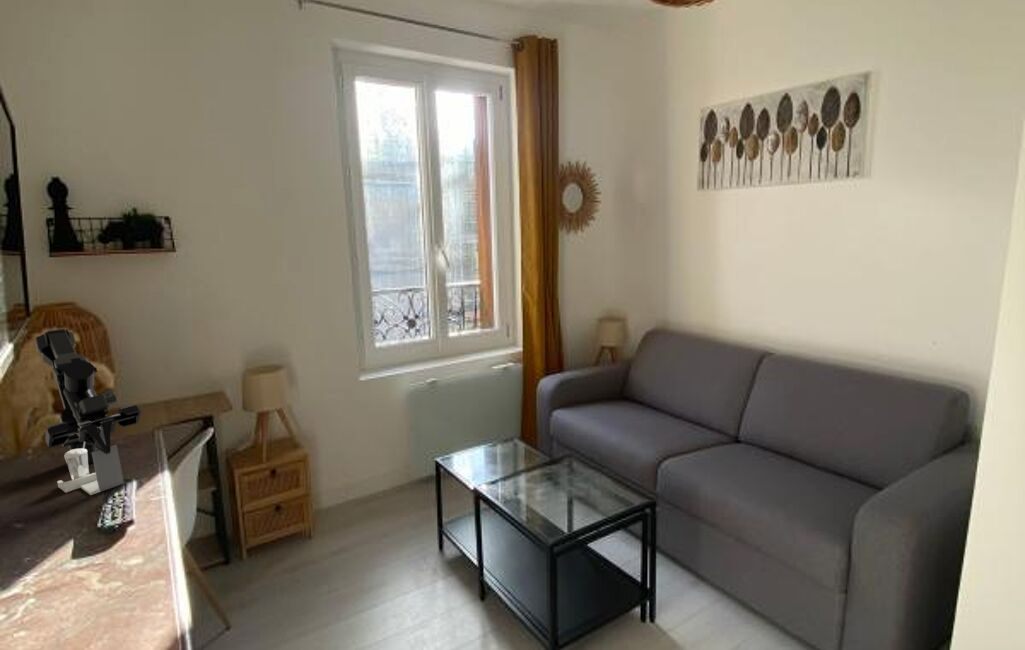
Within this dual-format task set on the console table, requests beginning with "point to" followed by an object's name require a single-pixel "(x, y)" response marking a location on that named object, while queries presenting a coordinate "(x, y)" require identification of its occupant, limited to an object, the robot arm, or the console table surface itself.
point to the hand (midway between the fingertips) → (108, 452)
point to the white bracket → (98, 474)
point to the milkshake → (77, 462)
